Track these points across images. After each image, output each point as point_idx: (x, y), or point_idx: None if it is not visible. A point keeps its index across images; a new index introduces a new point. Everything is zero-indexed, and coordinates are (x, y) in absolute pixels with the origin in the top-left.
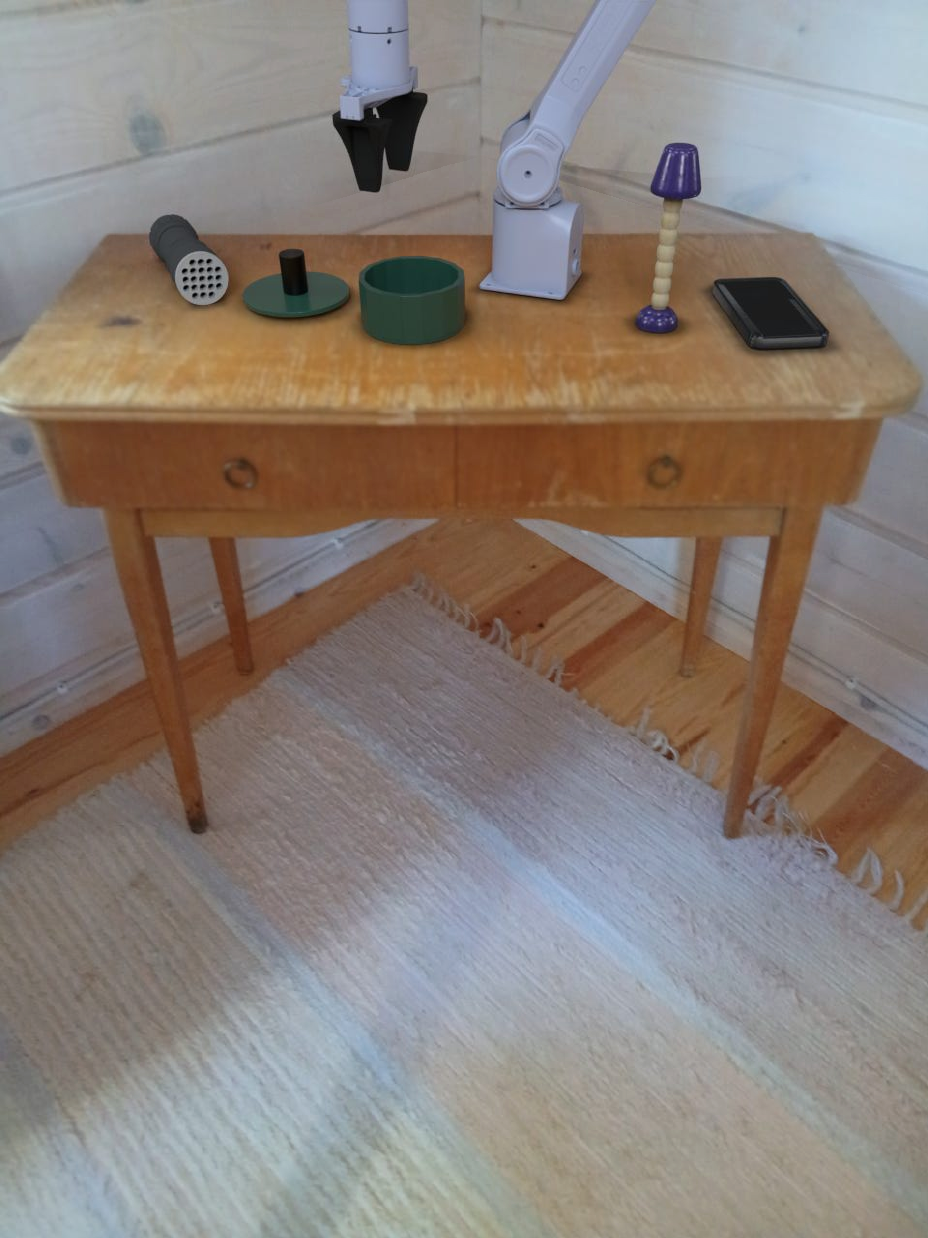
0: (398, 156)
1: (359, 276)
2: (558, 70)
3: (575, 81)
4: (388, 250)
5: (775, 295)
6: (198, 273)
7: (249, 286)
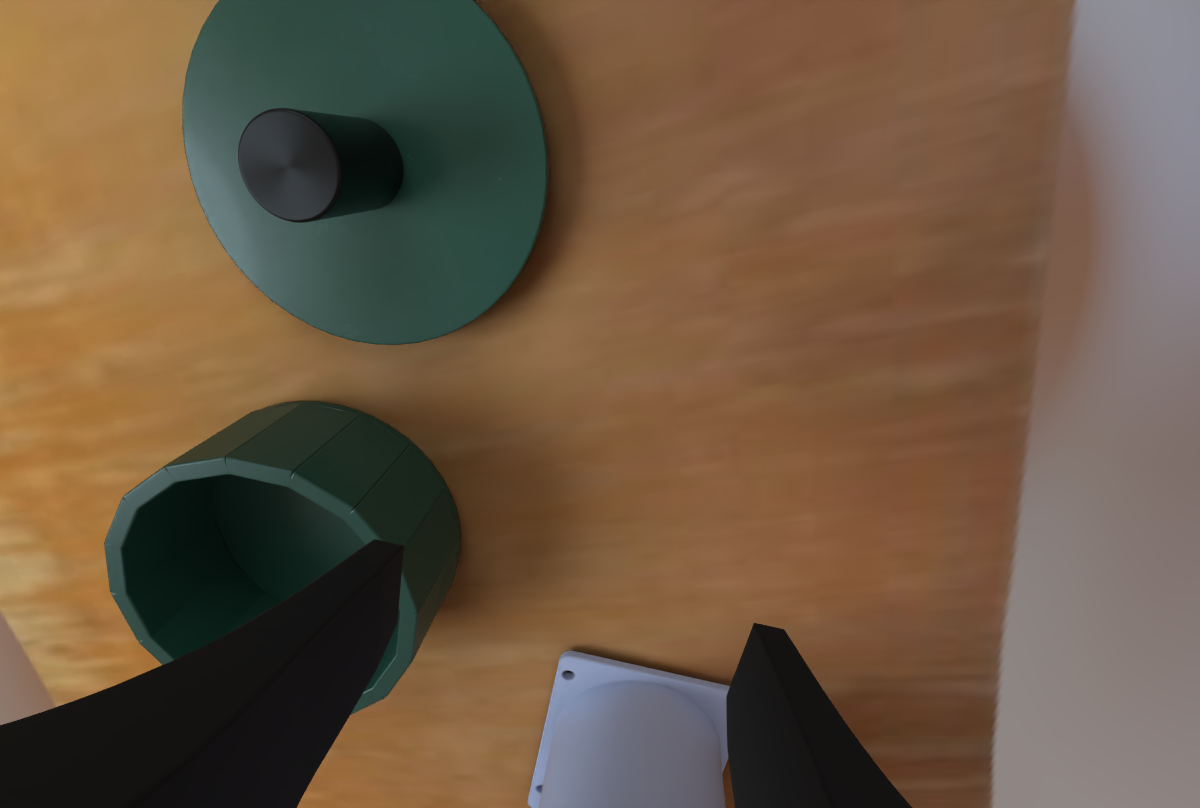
0: (749, 723)
1: (193, 463)
2: None
3: None
4: (869, 373)
5: None
6: None
7: None
